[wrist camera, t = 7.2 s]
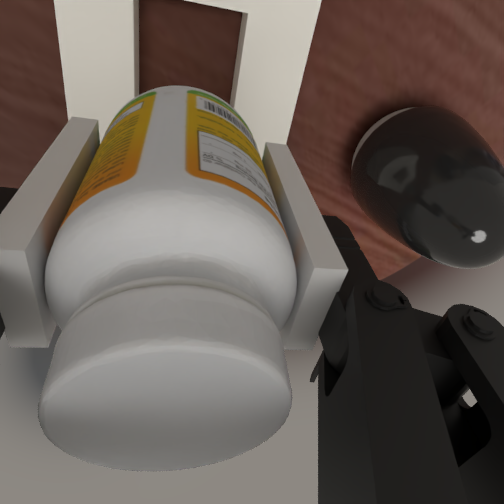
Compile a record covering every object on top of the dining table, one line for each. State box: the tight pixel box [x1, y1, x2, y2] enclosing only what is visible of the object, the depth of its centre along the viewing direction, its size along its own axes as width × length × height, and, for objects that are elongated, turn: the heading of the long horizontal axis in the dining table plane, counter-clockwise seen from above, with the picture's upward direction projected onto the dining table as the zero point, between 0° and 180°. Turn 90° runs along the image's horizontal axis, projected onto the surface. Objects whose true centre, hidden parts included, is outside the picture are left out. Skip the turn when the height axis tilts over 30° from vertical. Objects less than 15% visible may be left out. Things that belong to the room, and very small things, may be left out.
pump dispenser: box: [351, 106, 504, 269], centre depth 28 cm, size 10×10×15 cm
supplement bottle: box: [38, 86, 297, 471], centre depth 10 cm, size 5×5×10 cm
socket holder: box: [54, 0, 321, 160], centre depth 26 cm, size 16×16×3 cm
